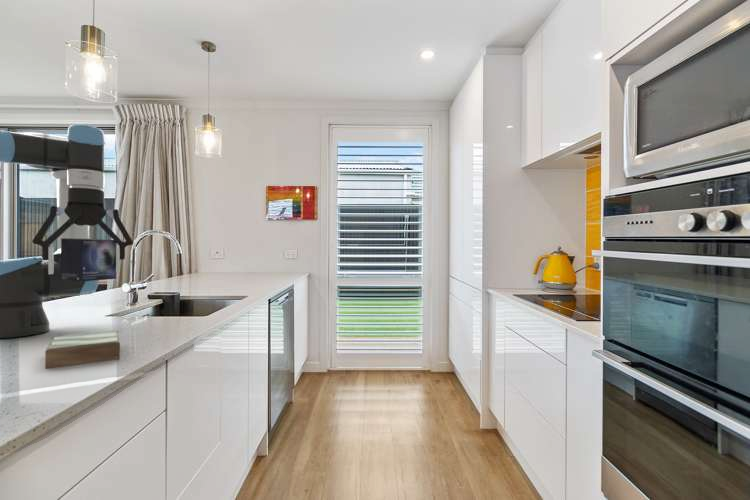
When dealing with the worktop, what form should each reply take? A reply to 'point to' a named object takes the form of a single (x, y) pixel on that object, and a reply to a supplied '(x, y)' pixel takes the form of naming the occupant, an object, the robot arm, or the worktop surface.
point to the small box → (87, 259)
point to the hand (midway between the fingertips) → (85, 273)
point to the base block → (82, 349)
